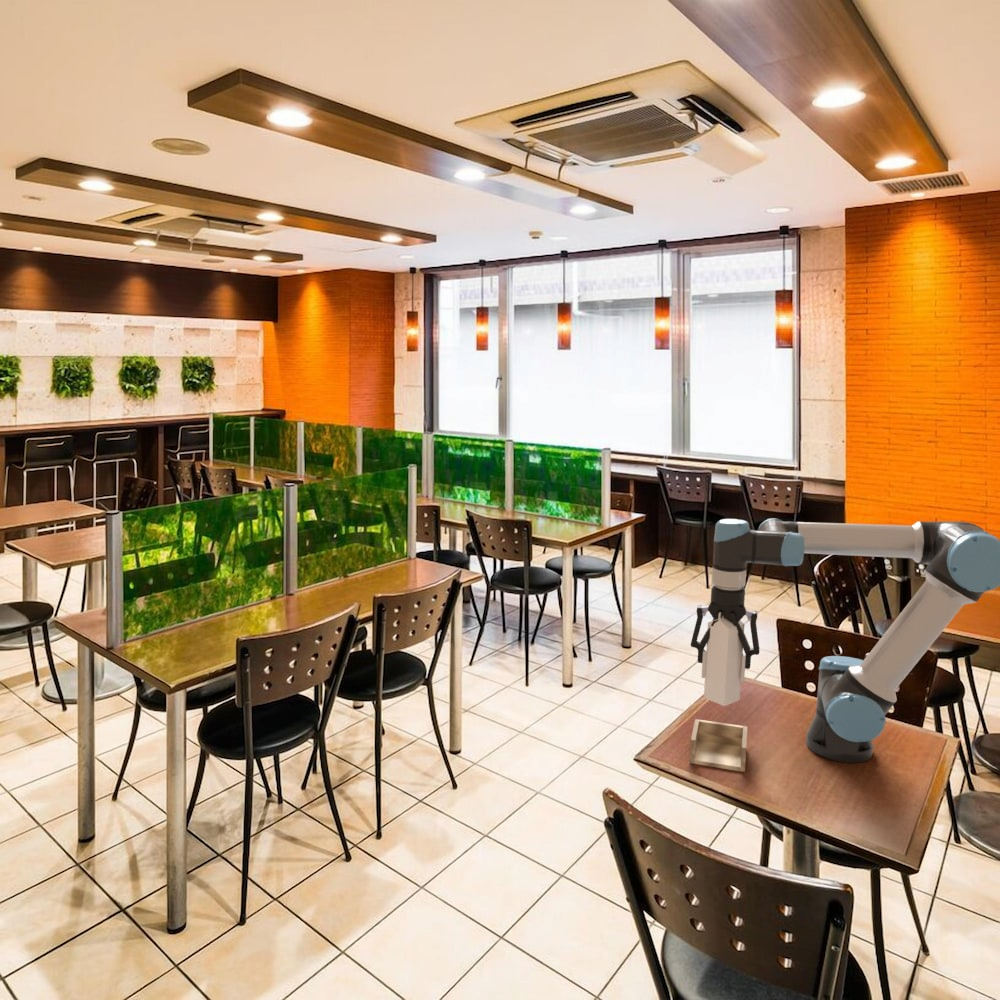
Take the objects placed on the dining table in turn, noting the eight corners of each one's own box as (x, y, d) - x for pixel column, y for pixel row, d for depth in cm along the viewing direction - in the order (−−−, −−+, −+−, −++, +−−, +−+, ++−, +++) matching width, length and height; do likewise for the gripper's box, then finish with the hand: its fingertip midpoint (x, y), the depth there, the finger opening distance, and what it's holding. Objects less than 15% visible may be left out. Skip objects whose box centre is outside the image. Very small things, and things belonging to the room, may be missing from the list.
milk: (703, 698, 186) (707, 609, 182) (719, 691, 189) (723, 604, 185) (724, 706, 181) (729, 615, 177) (740, 700, 184) (745, 611, 181)
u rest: (746, 749, 191) (747, 726, 190) (744, 772, 181) (746, 748, 180) (694, 741, 195) (695, 719, 194) (689, 763, 185) (691, 739, 184)
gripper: (776, 585, 180) (769, 678, 184) (683, 577, 187) (679, 666, 191) (776, 594, 173) (769, 690, 177) (680, 585, 180) (676, 678, 184)
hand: (722, 678), depth 184 cm, fingers closed on milk, 8 cm apart
